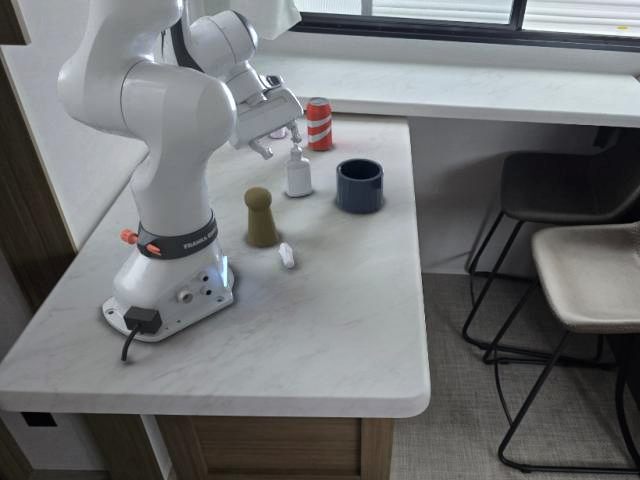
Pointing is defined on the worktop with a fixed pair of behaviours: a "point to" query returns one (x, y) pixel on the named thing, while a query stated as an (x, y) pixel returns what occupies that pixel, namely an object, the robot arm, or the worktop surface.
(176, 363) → the worktop surface
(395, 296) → the worktop surface
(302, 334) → the worktop surface
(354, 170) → the dark blue round pot
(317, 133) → the beverage can
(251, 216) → the olive pawn
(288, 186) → the eye dropper bottle
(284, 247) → the small white plastic part
